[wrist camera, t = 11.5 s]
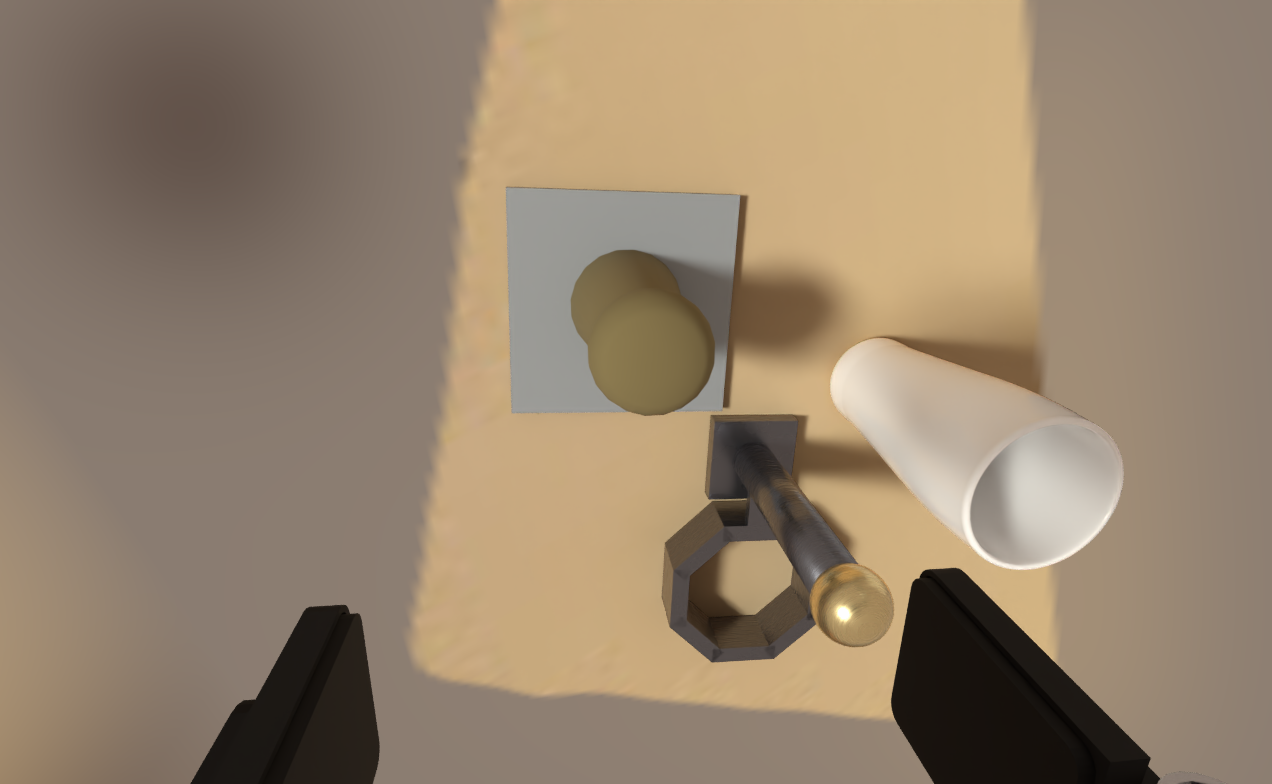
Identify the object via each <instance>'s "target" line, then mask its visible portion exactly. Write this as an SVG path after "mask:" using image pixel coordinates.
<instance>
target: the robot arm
mask: <svg viewBox="0 0 1272 784" xmlns="http://www.w3.org/2000/svg"><path fill="white" fill-rule="evenodd" d="M891 706H892V711H893V715H894V718H895V720H896V722H897V724H898V725H899V727H900V729H901V730H902V732H903V734H904V735H905V737H906V738H907V740H908V742H909V743H910V745H911V746H912V748H913V750H914V751H915V753H916V755H917V756H918V758H919V759H920V761H921V763H922V764H923V766H924V768H925V769H926V771H927V772H928V774H929V776H930V777H931V779H932V781H933V782H934V784H1227V783H1225V782H1222V781H1220V780H1218V779H1215V778H1212V777H1209V776H1205V775H1202V774H1198V773H1191V772H1174V773H1170V774H1166V775H1165V776H1164V777H1163V778H1161V779H1160V778H1159V777H1158V776H1157V775H1156V774H1155V773H1154V772H1153V771H1152V770H1151V769H1150V768H1149V767H1148V764H1149V761H1150V757H1149V756H1148V755H1147V754H1146V753H1145V752H1144V751H1143V750H1142V749H1141V748H1140V747H1139V746H1138V745H1137V744H1136V743H1135V742H1134V741H1133V740H1132V739H1131V738H1130V737H1129V736H1128V735H1127V734H1126V733H1125V732H1124V731H1123V730H1122V729H1121V728H1120V727H1119V726H1118V725H1117V724H1116V723H1115V722H1114V721H1113V720H1112V719H1111V718H1110V717H1109V716H1108V715H1107V714H1106V713H1105V712H1104V711H1103V710H1102V709H1101V708H1100V707H1099V706H1098V705H1097V704H1096V703H1095V702H1094V701H1093V700H1092V699H1091V698H1090V697H1089V696H1088V695H1087V694H1086V693H1085V692H1084V691H1083V690H1082V689H1081V688H1080V687H1079V686H1078V685H1077V684H1076V683H1075V682H1074V681H1073V680H1072V679H1071V678H1070V677H1069V676H1068V675H1067V674H1066V673H1065V672H1064V671H1063V670H1062V669H1061V668H1060V667H1059V666H1058V665H1057V664H1056V663H1055V662H1054V661H1053V660H1052V659H1051V658H1050V657H1049V656H1048V655H1047V654H1046V653H1045V652H1044V651H1043V650H1042V649H1041V648H1040V647H1039V646H1038V645H1037V644H1036V643H1035V642H1034V641H1033V640H1032V639H1031V638H1030V637H1029V636H1028V635H1027V634H1026V633H1025V632H1024V631H1023V630H1022V629H1021V628H1020V627H1019V626H1018V625H1017V624H1016V623H1015V622H1014V621H1013V620H1012V619H1011V618H1010V617H1009V616H1008V615H1007V614H1006V613H1005V612H1004V611H1003V610H1002V609H1001V608H1000V607H999V606H998V605H997V604H996V603H995V602H994V601H993V600H992V599H991V598H990V597H989V596H988V595H987V594H986V593H985V592H984V591H983V590H982V589H981V588H980V587H979V586H978V585H977V584H976V583H975V582H974V581H973V580H972V579H971V578H970V577H969V576H968V575H967V574H965V573H964V572H963V571H962V570H960V569H958V568H945V569H929V570H925V571H923V572H922V574H921V575H920V578H919V579H915V580H914V581H913V583H912V586H911V592H910V597H909V603H908V608H907V614H906V619H905V625H904V630H903V636H902V642H901V647H900V653H899V658H898V664H897V669H896V675H895V680H894V686H893V691H892V697H891ZM378 761H379V736H378V730H377V722H376V716H375V709H374V702H373V695H372V688H371V681H370V674H369V667H368V660H367V653H366V647H365V640H364V633H363V626H362V620H361V616H360V614H358V613H356V614H350V613H349V609H348V607H347V606H346V605H334V606H317V607H308V608H306V610H305V611H304V612H303V614H302V616H301V618H300V620H299V621H298V623H297V625H296V627H295V628H294V630H293V632H292V634H291V636H290V638H289V639H288V641H287V643H286V645H285V647H284V649H283V650H282V652H281V654H280V656H279V658H278V660H277V661H276V663H275V665H274V667H273V669H272V671H271V673H270V674H269V676H268V678H267V680H266V682H265V683H264V685H263V687H262V689H261V691H260V693H259V694H258V696H257V698H256V700H244V701H242V702H241V703H239V704H238V705H237V706H236V707H235V709H234V710H233V712H232V713H231V714H230V716H229V718H228V720H227V722H226V723H225V725H224V727H223V728H222V730H221V732H220V734H219V735H218V737H217V739H216V741H215V742H214V744H213V746H212V748H211V749H210V751H209V753H208V754H207V756H206V758H205V760H204V761H203V763H202V765H201V766H200V768H199V770H198V772H197V773H196V775H195V777H194V779H193V780H192V782H191V784H373V781H374V777H375V774H376V770H377V766H378Z"/></svg>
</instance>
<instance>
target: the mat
mask: <svg viewBox="0 0 1272 784" xmlns="http://www.w3.org/2000/svg"><path fill="white" fill-rule="evenodd" d="M739 205H740V195H731V194H700V193H670V192H640V191H610V190H580V189H550V188H520V187H506V212H507V250H508V289H509V327H510V365H511V403H512V413H579V412H628V411H626V410H624V409H623V408H621V407H619V406H618V405H616V404H615V403H613V402H611V401H610V400H608V399H607V397H606V396H605V395H604V394H603V393H602V391H601V390H600V389H599V388H598V387H597V385H596V384H595V381H594V379H593V376H592V373H591V371H590V368H589V364H588V345H587V344H586V343H585V342H584V340H583V339H582V338H581V337H580V335H579V334H578V333H577V330H576V328H575V325H574V323H573V320H572V317H571V296H572V293H573V289H574V285H575V282H576V281H577V279H578V278H579V276H580V275H581V273H582V272H583V270H584V269H585V267H587V266H588V265H589V264H590V263H592V262H593V261H594V260H596V259H597V258H598V257H599V256H602V255H605V254H607V253H610V252H613V251H616V250H638V251H641V252H644V253H647V254H651V255H653V256H654V257H655V258H657V259H658V260H660V261H661V262H663V263H664V264H665V265H666V266H667V267H668V268H669V270H670V271H671V273H672V274H673V275H674V277H675V278H676V280H677V283H678V286H679V290H680V293H681V295H682V296H683V297H685V298H686V299H688V300H689V301H691V302H692V303H693V304H695V305H696V306H697V307H698V308H699V309H700V311H701V312H702V314H703V315H704V316H705V318H706V319H707V320H708V322H709V324H710V327H711V330H712V333H713V337H714V340H715V362H714V367H713V370H712V372H711V375H710V378H709V381H708V383H707V384H706V385H705V387H704V388H703V389H702V391H701V392H700V393H699V395H698V396H697V397H696V398H695V399H693V400H692V401H691V402H689V403H688V404H687V405H685V406H684V407H683V408H681V409H678V410H675V411H673V412H681V411H722V408H723V396H724V384H725V372H726V360H727V348H728V336H729V324H730V312H731V300H732V288H733V276H734V264H735V253H736V241H737V229H738V217H739Z"/></svg>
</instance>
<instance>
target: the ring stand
mask: <svg viewBox="0 0 1272 784" xmlns="http://www.w3.org/2000/svg"><path fill="white" fill-rule="evenodd" d="M797 427H798V420H797V419H796V418H795V417H794V416H793V415H715V416H711V420H710V432H709V445H708V458H707V471H706V484H705V493H706V495H707V497H708V499H744V498H747V501H717V502H711V503H710V504H709V505H708V506H707V507H706V508H704V509H703V510H702V511H701V512H700V513H699V514H698V515H696V516H695V517H694V518H693V519H692V520H691V521H690V522H688V523H687V524H686V525H685V526H684V527H683V528H682V529H680V530H679V531H678V532H677V533H676V534H675V535H674V536H672V537H671V538H670V539H669V540H668V541H667V542H666V543H665V552H664V570H663V587H662V599H663V603H664V607H665V611H666V615H667V618H668V622H669V626H670V628H671V629H673V630H674V631H675V632H676V633H677V634H679V635H680V636H681V637H682V638H683V639H685V640H686V641H687V642H688V643H689V644H691V645H692V646H693V647H694V648H695V649H697V650H698V651H699V652H700V653H701V654H703V655H704V656H705V657H706V658H707V659H709V660H710V661H711V662H727V661H744V660H761V659H774V658H775V657H776V656H778V655H779V654H780V653H781V652H783V651H784V650H785V649H786V648H787V647H789V646H790V645H791V644H792V643H794V642H795V641H796V640H797V639H798V638H800V637H801V636H802V635H803V634H805V633H806V632H807V631H808V630H809V629H811V628H812V627H813V626H814V625H817V626H818V628H819V629H820V630H821V631H822V632H823V633H824V634H825V635H826V636H827V637H828V638H829V639H831V640H832V641H834V642H836V643H838V644H841V645H844V646H848V647H864V646H868V645H871V644H873V643H875V642H877V641H878V640H880V639H881V638H882V637H883V636H884V635H885V634H886V632H887V631H888V629H889V628H890V626H891V623H892V620H893V616H894V603H893V598H892V595H891V592H890V590H889V588H888V586H887V585H886V583H885V582H884V581H883V579H882V578H881V577H880V576H879V575H878V574H876V573H875V572H874V571H872V570H871V569H869V568H867V567H865V566H862V565H859V564H858V563H857V562H856V561H855V559H854V558H853V557H852V555H851V554H850V553H849V552H848V550H847V549H846V548H845V546H844V545H843V544H842V542H841V541H840V540H839V539H838V537H837V536H836V535H835V533H834V532H833V531H832V529H831V528H830V527H829V526H828V524H827V523H826V522H825V520H824V519H823V518H822V516H821V515H820V514H819V513H818V511H817V510H816V509H815V507H814V506H813V505H812V503H811V502H810V501H809V500H808V498H807V497H806V496H805V494H804V493H803V492H802V490H801V489H800V488H799V486H798V485H797V484H796V483H795V481H794V480H793V479H792V477H791V476H792V468H793V460H794V452H795V444H796V435H797ZM760 540H777V541H778V542H779V544H780V546H781V547H782V549H783V551H784V552H785V554H786V556H787V557H788V559H789V561H790V562H791V564H792V566H793V572H792V580H791V586H789V587H788V588H787V589H786V590H785V591H783V592H782V593H781V594H780V595H779V596H777V597H776V598H775V599H774V600H773V601H771V602H770V603H769V604H768V605H767V606H765V607H764V608H763V609H762V610H761V611H759V612H758V613H757V614H756V615H750V616H730V617H710V618H709V617H708V616H706V615H705V614H704V613H703V612H702V611H701V610H699V609H698V608H697V607H696V606H695V605H694V604H693V603H691V602H690V601H689V600H688V594H689V581H690V575H692V574H693V573H694V572H695V571H696V570H697V569H699V568H700V567H701V566H702V565H703V564H704V563H706V562H707V561H708V560H709V559H710V558H711V557H712V556H714V555H715V554H716V553H717V552H718V551H719V550H721V549H722V548H723V547H724V546H725V545H726V544H728V543H729V542H732V541H760Z"/></svg>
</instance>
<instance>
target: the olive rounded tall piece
mask: <svg viewBox="0 0 1272 784" xmlns="http://www.w3.org/2000/svg"><path fill="white" fill-rule="evenodd" d="M571 317H572V320H573V323H574V325H575V328H576V330H577V333H578V334H579V335H580V337H581V338H582V339H583V340H584V342H585V343H586V344H587V345H588V364H589V368H590V371H591V373H592V376H593V379H594V381H595V384H596V385H597V387H598V388H599V389H600V390H601V391H602V393H603V394H604V395H605V396H606V397H607V399H608V400H610V401H611V402H613V403H615V404H616V405H618V406H619V407H621V408H623V409H624V410H626V411H628V412H632V413H636V414H640V415H644V416H650V415H664V414H667V413H670V412H673V411H675V410H678V409H681V408H683V407H684V406H685V405H687V404H688V403H689V402H691V401H692V400H693V399H695V398H696V397H697V396H698V395H699V393H700V392H701V391H702V389H703V388H704V387H705V385H706V384H707V383H708V381H709V378H710V375H711V372H712V370H713V367H714V362H715V340H714V337H713V333H712V330H711V327H710V324H709V322H708V320H707V319H706V318H705V316H704V315H703V314H702V312H701V311H700V309H699V308H698V307H697V306H696V305H695V304H693V303H692V302H691V301H689V300H688V299H686V298H685V297H683V296H682V295H681V293H680V290H679V286H678V283H677V280H676V278H675V277H674V275H673V274H672V273H671V271H670V270H669V268H668V267H667V266H666V265H665V264H664V263H663V262H661V261H660V260H658V259H657V258H655V257H654V256H653V255H651V254H647V253H644V252H641V251H638V250H616V251H613V252H610V253H607V254H605V255H602V256H599V257H598V258H597V259H596V260H594V261H593V262H592V263H590V264H589V265H588V266H587V267H585V269H584V270H583V272H582V273H581V275H580V276H579V278H578V279H577V281H576V282H575V285H574V289H573V293H572V296H571Z"/></svg>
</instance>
